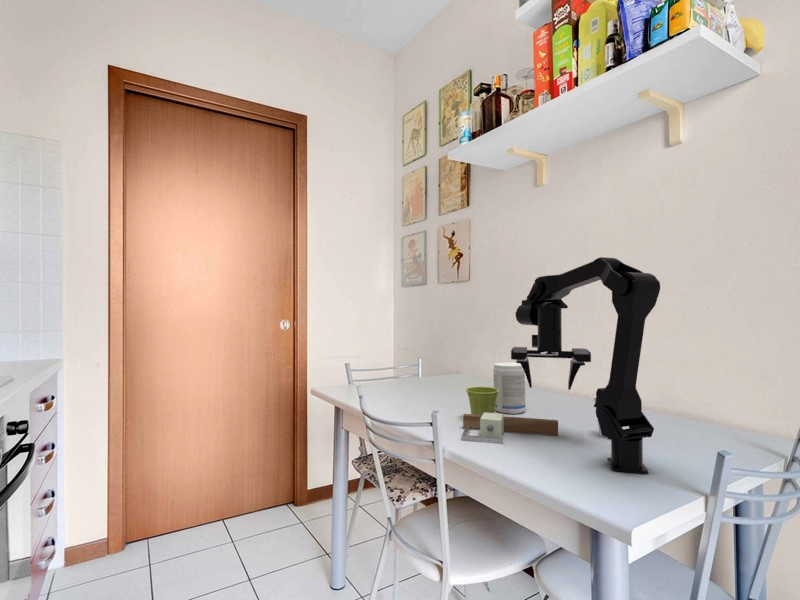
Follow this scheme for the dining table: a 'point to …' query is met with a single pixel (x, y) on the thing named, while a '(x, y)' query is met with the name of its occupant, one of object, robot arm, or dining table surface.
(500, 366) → the supplement tub
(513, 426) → the long brown board
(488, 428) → the pale green block
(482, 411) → the plant pot
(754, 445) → the dining table surface
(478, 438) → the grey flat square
